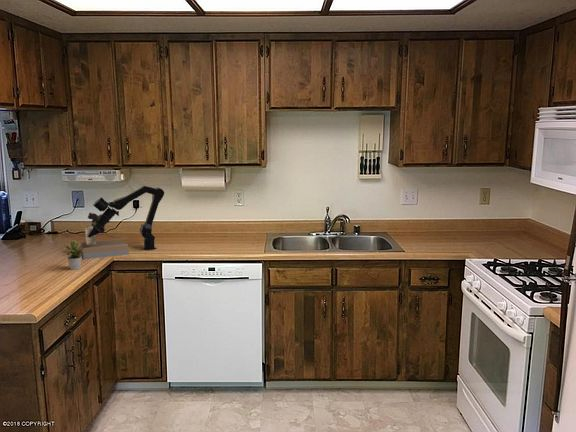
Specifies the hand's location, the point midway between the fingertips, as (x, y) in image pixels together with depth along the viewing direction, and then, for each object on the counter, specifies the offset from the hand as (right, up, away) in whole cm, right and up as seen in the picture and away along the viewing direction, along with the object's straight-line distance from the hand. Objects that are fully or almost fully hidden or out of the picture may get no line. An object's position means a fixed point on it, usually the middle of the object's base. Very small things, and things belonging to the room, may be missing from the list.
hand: (88, 236), depth 290 cm
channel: (+8, -11, +6) cm, 14 cm away
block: (+1, -4, +1) cm, 5 cm away
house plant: (+3, -16, -26) cm, 31 cm away
